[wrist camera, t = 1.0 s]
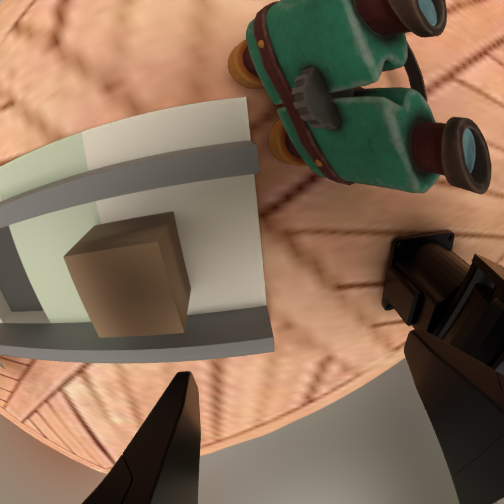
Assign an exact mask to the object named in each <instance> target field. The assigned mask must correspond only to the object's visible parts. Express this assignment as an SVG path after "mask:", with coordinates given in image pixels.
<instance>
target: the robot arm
mask: <svg viewBox="0 0 504 504" xmlns="http://www.w3.org/2000/svg"><path fill="white" fill-rule="evenodd" d="M453 241H454V233H453V232H451V231H449V230H448V231H441V232H434V233H426V234H419V235H412V236H405V237H398V238H395V239H394V240H393V242H392V246H391V254H390V261H389V267H388V269H387V276H386V282H385V287H384V293H383V294H384V297H383V302H382V307H383V308H384V309H385V310H386V311H388V310H392V309H395V310H396V311H397V313H398V314H399V315H400V317H401V318H402V319H403V321H404V322H405V323H406V324H407V325H408V326H411V325H412V326H413V328H414V329H415V330H412V331H410V332H409V334H408V337H407V340H406V343H405V346H404V354H405V357H406V360H407V362H408V365H409V368H410V371H411V374H412V376H413V380H414V383H415V386H416V389H417V391H418V393H419V395H420V398H421V400H422V402H423V404H424V407H425V409H426V411H427V414H428V416H429V418H430V421H431V423H432V426H433V428H434V430H435V433H436V436H437V438H438V441H439V443H440V446H441V449H442V451H443V454H444V457H445V459H446V462H447V465H448V468H449V471H450V474H451V476H452V480H453V483H454V486H455V490H456V493H457V496H458V499H459V503H460V504H493V503H495V502H498V504H504V267H502V266H501V265H499V264H497V263H495V262H492V261H490V260H488V259H486V258H484V257H482V256H480V255H477V254H475V255H474V257H473V259H472V264H471V266H470V265H469V264H468V263H466V262H465V261H464V260H463V259H461V258H460V257H459V256H458V255H456V254H455V253H454V252H452V246H453ZM399 243H400V244H399ZM398 244H399V246H397V245H398ZM200 443H201V426H200V410H199V392H198V387H197V384H196V382H195V380H194V377H193V375H192V373H191V372H190V371H185V372H178V373H177V374H176V375H175V377H174V378H173V380H172V381H171V383H170V384H169V386H168V387H167V389H166V390H165V392H164V393H163V395H162V396H161V398H160V399H159V400H158V402H157V403H156V405H155V406H154V408H153V409H152V411H151V412H150V414H149V415H148V417H147V418H146V420H145V421H144V423H143V424H142V426H141V427H140V429H139V430H138V432H137V433H136V434H135V436H134V437H133V439H132V440H131V442H130V443H129V445H128V446H127V448H126V449H125V451H124V452H123V455H121V456H120V458H119V459H118V461H117V462H116V464H115V465H114V466H113V468H112V469H111V470H110V472H109V473H108V475H107V476H106V477H105V478H104V479H103V481H102V482H101V483H100V484H99V485H98V486H97V488H96V489H95V490H94V491H93V492H92V493H91V494H90V495H89V496H88V498H86V499H85V501H84V502H83V503H82V504H198V481H199V459H200Z"/></svg>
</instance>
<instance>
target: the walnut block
mask: <svg viewBox="0 0 504 504" xmlns="http://www.w3.org/2000/svg"><path fill="white" fill-rule="evenodd" d="M63 258H64V260H65V263H66V265H67V268H68V271H69V273H70V276H71V278H72V280H73V283H74V285H75V288H76V290H77V292H78V294H79V297H80V299H81V301H82V303H83V305H84V308H85V310H86V312H87V314H88V316H89V318H90V320H91V322H92V324H93V326H94V328H95V330H96V332H97V334H98V336H99V337H129V336H149V335H164V334H177V333H184V332H185V325H186V319H187V312H188V305H189V299H190V293H191V286H190V282H189V278H188V274H187V270H186V266H185V261H184V257H183V253H182V248H181V244H180V239H179V235H178V230H177V225H176V221H175V216H174V211H172V212H166V213H160V214H154V215H148V216H142V217H136V218H131V219H125V220H120V221H115V222H110V223H104V224H99V225H95V226H93V227H92V228H91V229H90V230H89V231H88V232H87V233H86V234H85V235H84V236H83V237H82V238H81V239H80V240H79V241H78V242H77V243H76V244H75V245H74V246H73V247H72V248H71V249H70V250H69V251H68V252H67V253H66V254H65V255H64V257H63Z"/></svg>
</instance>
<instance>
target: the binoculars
mask: <svg viewBox="0 0 504 504" xmlns="http://www.w3.org/2000/svg"><path fill="white" fill-rule="evenodd" d="M446 21H447V12H446V2H445V0H281V1H278V2H273V3H271V4H269V5H266V6H265V7H264V8H263V9H261V10H260V11H259V12H258V13H257V15H256V17H255V19H254V20H252V21H251V22H250V24H249V25H248V28H247V31H246V40H244V41H243V42H241V43H240V44H239V45H238V46H236V47H235V48H234V49H233V51H232V52H231V54H230V56H229V59H228V68H229V72H230V74H231V75H232V77H233V78H234V79H235V80H236V81H237V82H238V83H240V84H241V85H243V86H245V87H249V88H263V87H264V88H265V90H266V92H267V94H268V95H269V97H270V99H271V101H272V102H273V104H275V105H279V104H284V105H285V107H280V108H278V109H277V113H278V115H279V117H280V119H279V120H278V121H277V122H276V123H275V124H274V125H273V127H272V129H271V131H270V134H269V146H270V149H271V151H272V153H273V155H274V156H275V157H276V158H277V159H278V160H280V161H282V162H284V163H287V164H293V165H299V166H301V165H308V166H309V168H310V169H311V170H312V171H313V172H315V173H316V174H317V175H319V176H321V177H325V178H328V179H330V180H332V181H335V182H338V183H342V184H346V185H351V184H354V183H360V184H367V185H373V186H379V187H385V188H390V189H396V190H401V191H406V192H411V193H424V192H426V191H427V190H428V189H429V188H430V187H431V186H432V185H433V184H434V183H435V182H436V181H437V179H438V178H439V176H440V175H445V177H446V179H447V181H448V183H449V184H451V185H452V186H455V187H459V188H462V189H465V190H469V191H472V192H475V193H478V194H483V193H485V192H486V191H487V189H488V187H489V184H490V180H491V160H490V155H489V150H488V146H487V143H486V141H485V139H484V136H483V134H482V133H481V131H480V129H479V128H478V126H477V125H476V124H475V123H474V122H473V121H472V120H470V119H469V118H460V117H452V118H450V119H449V120H448V121H447V123H446V124H444V123H435V120H434V117H433V115H432V112H431V109H430V107H429V105H428V103H427V95H426V90H425V85H424V80H423V76H422V73H421V71H420V68H419V65H418V63H417V61H416V58H415V56H414V54H413V52H412V50H411V48H410V46H409V44H408V42H407V41H406V37H405V33H406V32H413V33H414V34H415V35H417V36H420V37H433V36H439V35H441V33H442V32H443V30H444V28H445V25H446ZM402 66H404V67H405V69H406V72H407V74H408V77H409V81H410V86H411V89H410V88H370V89H363V88H361V86H365V85H368V84H371V83H374V82H376V81H377V80H378V79H379V77H380V75H381V72H382V71H388V70H393V69H396V68H400V67H402Z"/></svg>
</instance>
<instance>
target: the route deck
mask: <svg viewBox="0 0 504 504" xmlns="http://www.w3.org/2000/svg"><path fill="white" fill-rule="evenodd" d="M254 174H260V170H259V160H258V149H257V145H256V144H255V143H254V142H252V141H251V138H250V129H249V119H248V110H247V101H246V97H239V98H230V99H222V100H214V101H207V102H201V103H194V104H188V105H183V106H177V107H172V108H167V109H162V110H158V111H153V112H149V113H145V114H141V115H137V116H133V117H129V118H125V119H121V120H118V121H114V122H111V123H107V124H104V125H101V126H98V127H95V128H92V129H88V130H86V131H83V132H80V133H77V134H74V135H71V136H69V137H66V138H63V139H61V140H58V141H55V142H53V143H50V144H48V145H46V146H43V147H41V148H39V149H36V150H34V151H32V152H29V153H27V154H25V155H23V156H21V157H19V158H17V159H15V160H13V161H11V162H9V163H7V164H5V165H3V166H1V167H0V355H6V356H13V357H21V358H29V359H39V360H50V361H64V362H82V363H159V362H179V361H194V360H207V359H218V358H228V357H237V356H245V355H253V354H260V353H268V352H274V351H275V350H274V337H273V332H272V328H271V323H270V319H269V314H268V309H267V304H266V293H265V282H264V271H263V260H262V249H261V239H260V228H259V218H258V208H257V197H256V187H255V177H254ZM172 211H174V216H175V221H176V225H177V230H178V235H179V239H180V244H181V248H182V253H183V257H184V261H185V266H186V270H187V274H188V278H189V282H190V286H191V293H190V299H189V305H188V312H187V319H186V325H185V332H184V333H177V334H164V335H149V336H129V337H99V336H98V334H97V332H96V330H95V328H94V326H93V324H92V322H91V320H90V318H89V316H88V314H87V312H86V310H85V308H84V305H83V303H82V301H81V299H80V297H79V294H78V292H77V290H76V288H75V285H74V283H73V280H72V278H71V276H70V273H69V271H68V268H67V265H66V263H65V260H64V258H63V257H64V255H65V254H66V253H67V252H68V251H69V250H70V249H71V248H72V247H73V246H74V245H75V244H76V243H77V242H78V241H79V240H80V239H81V238H82V237H83V236H84V235H85V234H86V233H87V232H88V231H89V230H90V229H91V228H92V227H93V226H95V225H99V224H104V223H110V222H115V221H120V220H125V219H131V218H136V217H142V216H148V215H154V214H160V213H166V212H172Z"/></svg>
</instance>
